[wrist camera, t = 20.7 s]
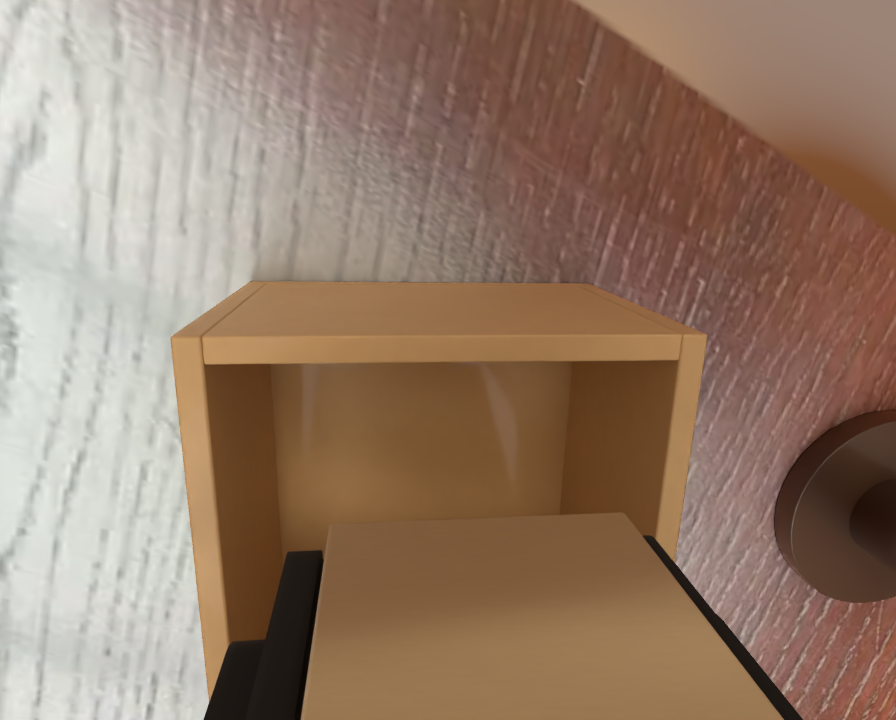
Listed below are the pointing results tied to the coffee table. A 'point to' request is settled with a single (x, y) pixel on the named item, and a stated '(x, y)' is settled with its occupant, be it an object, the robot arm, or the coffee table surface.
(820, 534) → the stand
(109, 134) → the coffee table surface
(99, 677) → the coffee table surface
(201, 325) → the carton
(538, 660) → the block
